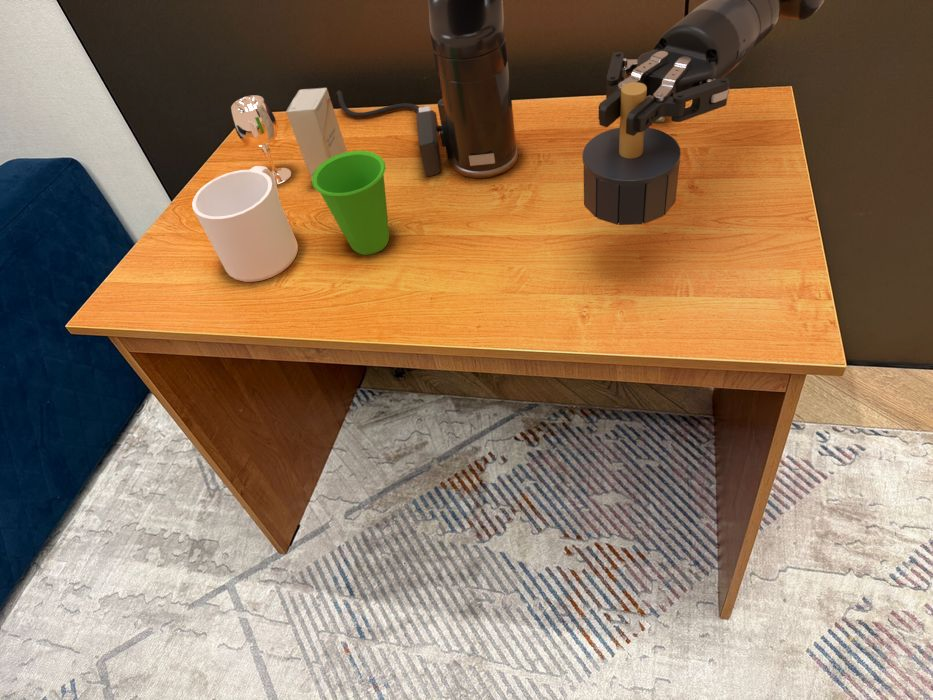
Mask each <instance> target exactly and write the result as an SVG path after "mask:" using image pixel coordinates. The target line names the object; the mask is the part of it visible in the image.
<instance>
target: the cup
mask: <svg viewBox="0 0 933 700" xmlns="http://www.w3.org/2000/svg"><path fill="white" fill-rule="evenodd" d="M385 172H386V162H385V160H384V159H383V157H381V156H379V154H377V153H375V152H372V151H369V150H352V151H347V152H345V153H342V154H338V155H336V156H334V157H331V158H329V159H328V160H326V161H324V162H323V163H322V164H321V165H320V166H318V168H317V169H316V170H315V172H314V174H313V177H312V180H311V184H312V187H313V189H315V191H317V192H318V193H319V194H320V196H321V197H322V199H323V200H324V202H325V204H326V206H327V208H328V210H329V211H330V213H331V215H332V216H333V218H334V220H335V221H336V224H337V225H338V227H339V228H340V230H341V233H342V234H343V235H344V237H345V239H346V241H347V243H348V244H349V246H350V248H351V249H352V250H353V251H354V252H356V254H358V255H366V256H368V255H374V254H377V253H379V252H380V251H382V250H384V249H385V248H386V247H387V245H388V244H389V240H390V228H389V217H388V206H387V195H386V185H385Z"/></svg>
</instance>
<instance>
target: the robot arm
mask: <svg viewBox="0 0 933 700" xmlns="http://www.w3.org/2000/svg"><path fill="white" fill-rule="evenodd" d="M824 2H825V0H706V1H704V2H702V3H701V4H699V5H698V6H696V7H695V8H694V9H693V10H691V11H690V12H689V13H688V14H687V15H685V16H684V17H683V18H682V19H680V20H679V21H678V22H676V23H675V24H674V25H673V26H671V27H670V28H669V29H668V30H666V31H665V32H664V33H663V34H662V35H661V37H660V38H659V40H658V41H657V43H656V45H654V48H653V49H652V50H650V51H647V52H644V53H642V54H640V56H639V57H637V59H636V58H635V59H633V58H632V59H631V58H630V59H627V58H626V57H625V53H624V52H623V51H615V52H613V53H612V55H611V58H610V63H609V67H608V71H607V74H606V81H605V82H606V83H605V85H606V86H605V87H606V88H605V99H603V100H602V101H601V102H600V103H599V104H598V120H599V121H598V123H599V124H598V125H599V126H601V127H603V128H609V127H610V126H611V125H612V124H613V123H614V122H616V121H617V120H618V119H620V106H621V88H622V86H624V85H625V84H627V83H632V82H639V83H643V84H644V85H646V87H647V95H646V99H645V100H644V101H642V102H641V103H640V104H639V105H638V106H637V107H635V108H634V109H633V110H632V111H631V112H630V113H629V114H628V116H627V119H626V134H629V135H632V136H634V135H636V134H637V133H638V132H642V131H645V130H646V129H647V128H650V127H651V125H653V124H654V123H656V122H655V121H656V120H662V119H664V118H665V119H666V117H669V118H671V119H670V120H671V121H672V122H674V123H681V122H684V121H687V120H689V119H692V118H695V117H698V116H701V115H704V114H706V113H709V112H712V111H716V110H717V109H720V108H723V107H726V106H727V104H728V103H727V102H728V97H729V93H730V85H731V84H730V83H731V79H730V78H728V77H726V76H727V75H728V74H730V73H731V72H732V71H733V70H734V69H735V68H736V67H737V66H739V65H740V64H741V63H742V62H743V61H744V59H746V57H747V56H748V54H749V53H750V51H751V50H753V49H754V48H755V47H756V46H757V45H758V44H760V43H761V42H762V41H763V40H764V39H765V38H766V37H767V36H768V35H769V34H770V33H771V32H772V30H774V28H775V26H776V25H777V23H778V21H779V19H781V20H782V19H783V20H790V21H803V20H807V19H809V18H810V17H812V16H813V15H814V14H815V13H816V12H818V11H819V9H821V6H822V5H823V4H824ZM427 6H428V23H429V24H428V25H429V35H430V40H431V45H432V46H431V47H432V51H433V56H434V62H435V67H436V74H437V78H438V79H437V80H438V83H439V89H440V94H441V99H439V101H438V102H437V109H438V115H439V120H440V125H438V126H436V128H437V131H439V136H440V137H439V138H440V141H441V146H442V147H443V148H445V152H446V157H447V162H448V163H447V164H450V165H453V168H454V170H455V171H456V172H457V173H458V174H460V175H462V176H463V177H468V178H474V179H485V178H492V177H495V176H498V175H501V174H503V173H505V172H507V171H509V170H510V169H511V168H512V167H514V165H515V164H516V162H517V161H518V156H519V155H518V146H517V140H516V131H515V129H516V128H515V119H514V111H513V100H512V92H511V82H510V80H511V79H510V71H509V62H508V53H507V43H506V33H505V19H504V18H505V17H504V2H503V0H427ZM652 97H653V98H652ZM335 98H337V100H338V103H339V106H340V109H341V110H342V111H343V113H344V114H345V115H347V116H348V117H351V118H356V119H363V118H364V119H365V118H370V117H374V116H378V115H382V114H385V113H389V112H392V111H396V110H412V111H415V112H416V114H417V113H419V108H420V107H421V106H419V105H417V104H414V103H408V102H405V103H404V102H402V103H397V104H391V105H388V106H383V107H380V108H377V109H374V110H369V111H363V112H362V111H361V112H358V111H353V110H350V109H349V108H348V107H347V105H346V103H345V99H344V95H343V92H342V90H337V91H336V93H335ZM690 101H691V104H690V106H687V107H686V104H687V102H690Z"/></svg>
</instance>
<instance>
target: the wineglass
mask: <svg viewBox="0 0 933 700" xmlns="http://www.w3.org/2000/svg"><path fill="white" fill-rule="evenodd" d="M230 111H231V117H232V123H233V126H234V129H235V131H236V134H237V136H238V137H239V139H240V140H241V142H242V143H243V144H245V145H246V146H248V147H250V148H257V149H258V148H261V149H262V153H263V155H264V156H265V157H266V158H267V160H268V162H269V165H270V167H271V170H270V172H271V173H272V175H273V177H274V179H275V182H276V185H277V186H278V185H281V184H284V183H286V182H287V181H288V180H289V179H290V178H291V176H292V171H291V169H290V168H287V167H276V166H275V165H274V161H273V159H272V154H271V150H270V148H269V147H270V146H269V145H270V144H272V143H273V142H274V141H275V140H276V138H277V136H278V132H279V126H278V122H277V119H276V117H275V115H274V113H273V111H272V109H271V108H270V106H269V105H268V103H267V101H266V100H265V99H264V97H263V96H260V95H257V94H256V95H254V94H253V95H247V96H244V97H240V98H239V99H237V100H236V101H234V102H233V103H232V105H231V106H230Z"/></svg>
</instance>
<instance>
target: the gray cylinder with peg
mask: <svg viewBox="0 0 933 700" xmlns="http://www.w3.org/2000/svg"><path fill="white" fill-rule="evenodd" d="M646 95H647V87H646V85H644V84H643V83H639V82H632V83H627V84H625V85H624V86H622V88H621V106H620V117H619V127H615V128H612V129H608V130H606V131H602V132H600V133H599V134H597V135H595V136H593V137H592V138H591V139H589V141H588V142H587V143H586V144H585V146H584V147H583V150H582V164H583V206H584V207H585V209H587V211H589V212H590V213H591V214H592V215H593V217H595V218H597V219H598V220H601V221H604V222H607V223H610V224H614V225H618V226H631V225H632V226H635V225H645V224H647V223H648V224H649V223H650V222H652V221H655V220H658V219H660V218H663V217H664V216H666V214H667V213H668V212H669V211H670V209H671V208H672V207H673V206H674V204H676V201H677V192H678V184H679V183H678V182H679V181H678V180H679V174H680V173H679V172H680V164H681V147H680V144H679V143H678V141H676V139H675V138H674V137H673V136H671V135H670V134H669V133H667V132H665V131H663V130H660V129H656V128H653V127H648V128H647V129H646V130H645V131H642V132H638V133H637V134H636V135H634V136H632V135H629V134H626V119H627V116H628V114H629V113H630V112H631V111H632V110H633V109H634V108H635V107H637V106H638V105H639V104H640V103H641V102H642V101H644V100H645V99H646Z"/></svg>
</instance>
